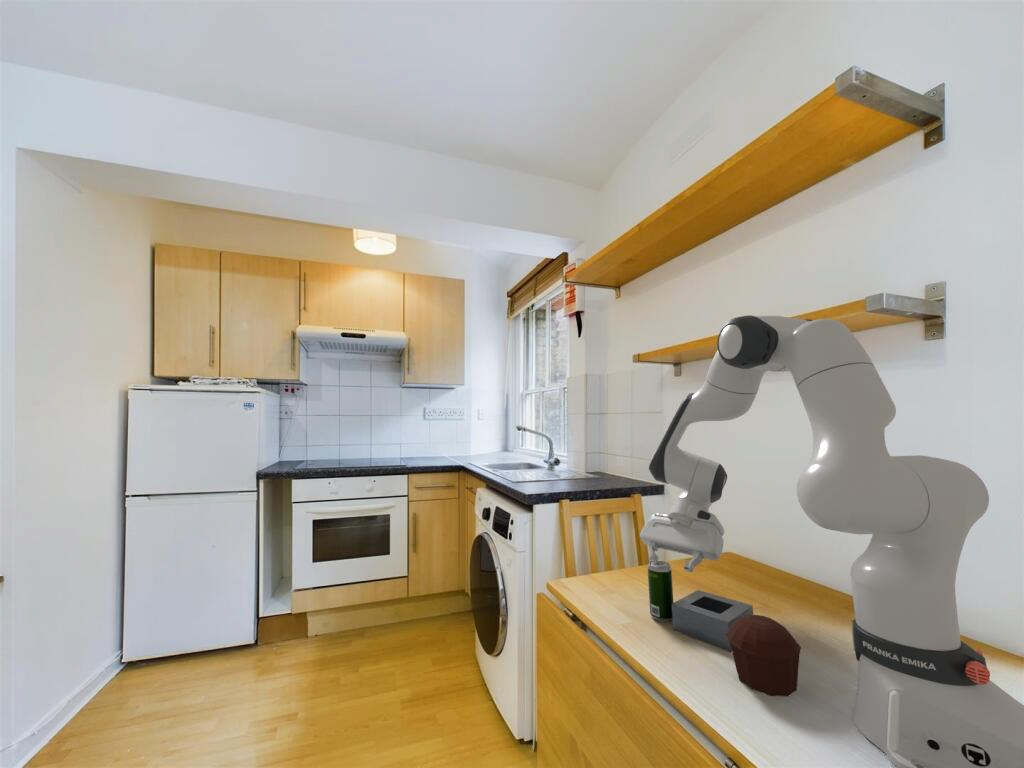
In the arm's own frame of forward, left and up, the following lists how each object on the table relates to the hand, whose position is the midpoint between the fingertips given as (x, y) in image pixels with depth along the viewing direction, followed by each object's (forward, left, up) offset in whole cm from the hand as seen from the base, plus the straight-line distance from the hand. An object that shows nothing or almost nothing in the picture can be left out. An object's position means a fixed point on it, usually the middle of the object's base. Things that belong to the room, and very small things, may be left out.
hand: (669, 565), depth 100 cm
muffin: (-25, +13, -11) cm, 30 cm away
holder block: (-11, +2, -11) cm, 16 cm away
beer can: (0, +4, -11) cm, 12 cm away
